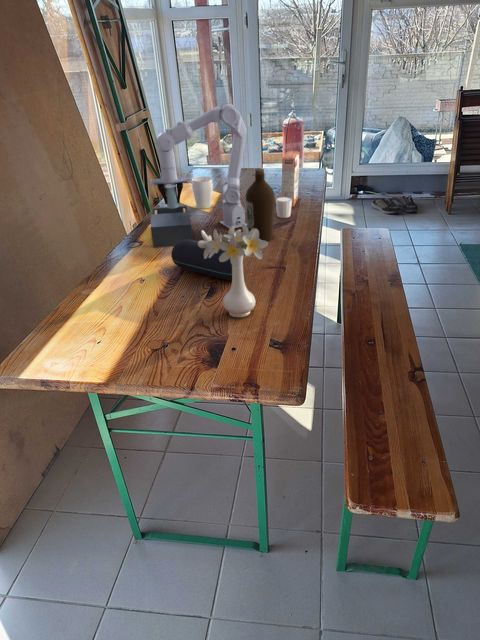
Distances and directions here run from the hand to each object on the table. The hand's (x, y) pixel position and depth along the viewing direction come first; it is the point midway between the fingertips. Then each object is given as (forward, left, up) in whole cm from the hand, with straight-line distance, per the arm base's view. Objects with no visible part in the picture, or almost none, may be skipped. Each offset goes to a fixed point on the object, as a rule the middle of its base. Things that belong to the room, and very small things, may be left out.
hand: (172, 203), depth 194 cm
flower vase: (-75, +13, -10) cm, 77 cm away
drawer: (+1, +1, -9) cm, 9 cm away
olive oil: (-28, -23, -10) cm, 38 cm away
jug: (0, 0, -2) cm, 2 cm away
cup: (+18, -21, -10) cm, 30 cm away
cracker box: (+1, -56, -10) cm, 57 cm away
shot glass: (-12, -44, -10) cm, 47 cm away
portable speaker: (-47, +8, -10) cm, 49 cm away
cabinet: (-11, +6, -10) cm, 16 cm away
